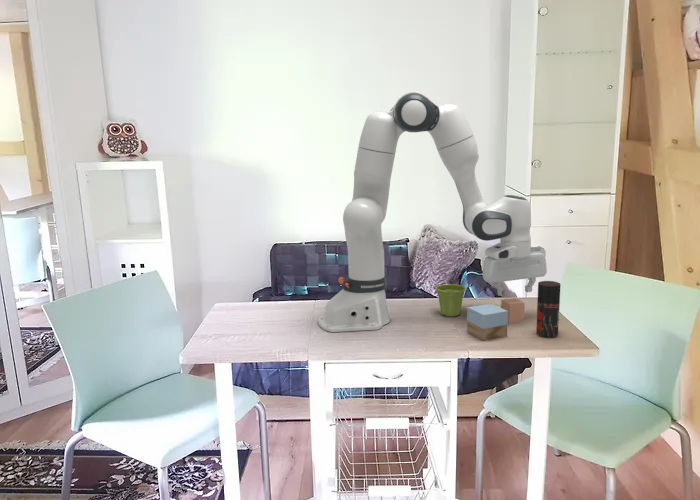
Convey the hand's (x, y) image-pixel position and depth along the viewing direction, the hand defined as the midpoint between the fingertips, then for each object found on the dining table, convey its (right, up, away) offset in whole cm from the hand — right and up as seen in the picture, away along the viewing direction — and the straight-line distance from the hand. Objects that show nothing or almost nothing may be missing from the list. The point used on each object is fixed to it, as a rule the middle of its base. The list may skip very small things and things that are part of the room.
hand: (514, 293), depth 179 cm
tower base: (-11, -11, -10) cm, 19 cm away
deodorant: (+6, -11, -12) cm, 17 cm away
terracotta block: (0, -8, +2) cm, 8 cm away
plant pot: (-18, -7, +9) cm, 21 cm away
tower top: (-11, -7, -11) cm, 18 cm away
